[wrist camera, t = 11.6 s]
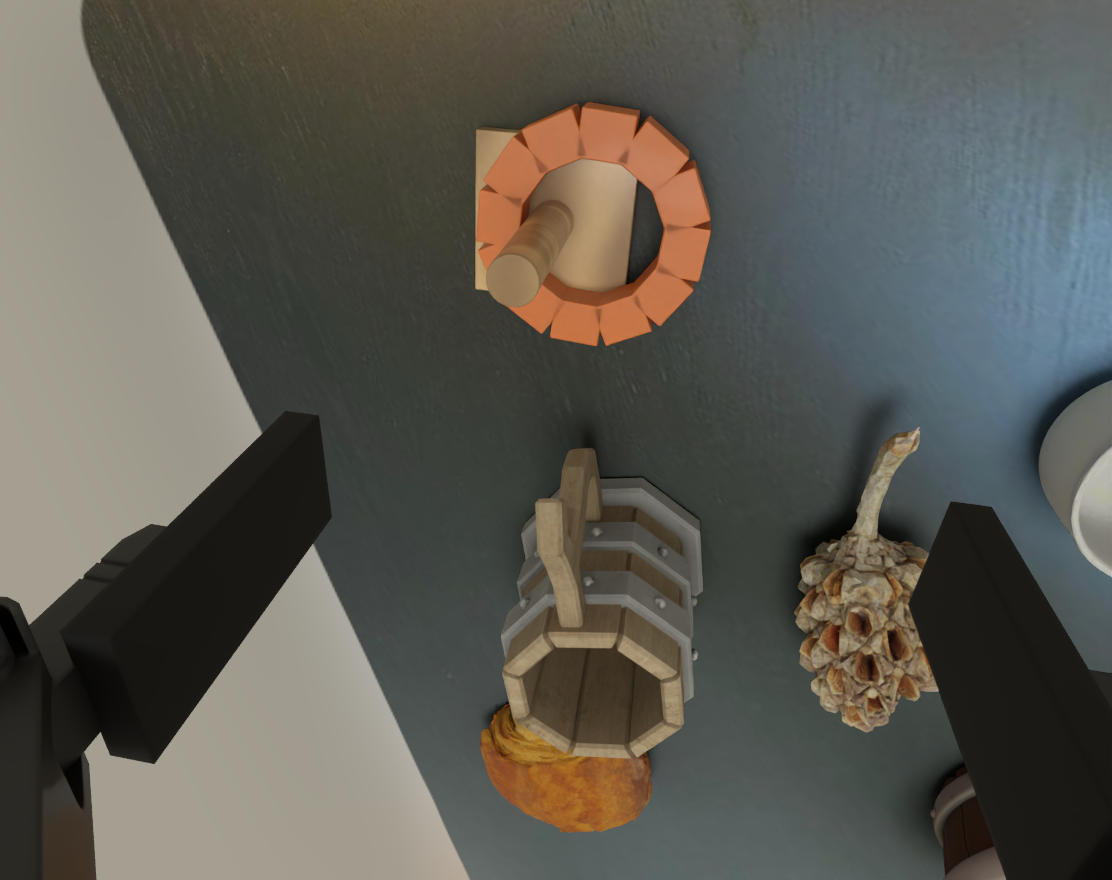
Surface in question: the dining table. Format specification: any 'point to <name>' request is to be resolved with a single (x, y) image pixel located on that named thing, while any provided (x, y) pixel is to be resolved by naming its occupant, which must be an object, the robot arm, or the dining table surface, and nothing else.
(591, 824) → the croissant
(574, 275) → the rack
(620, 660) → the tankard
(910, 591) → the pine cone
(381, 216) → the dining table surface
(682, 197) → the ring
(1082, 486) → the teacup
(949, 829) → the flowerpot
